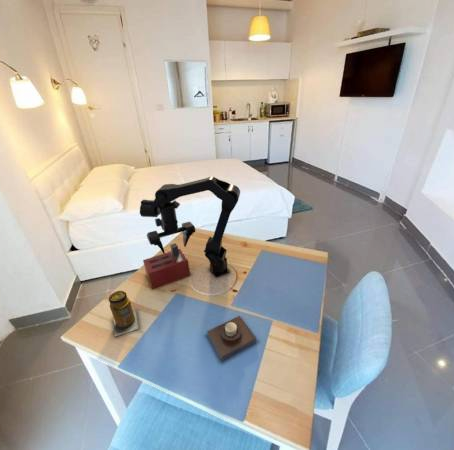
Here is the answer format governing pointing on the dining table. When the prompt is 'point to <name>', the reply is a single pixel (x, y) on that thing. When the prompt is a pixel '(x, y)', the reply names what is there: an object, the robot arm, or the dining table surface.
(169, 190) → the robot arm
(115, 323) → the condiment
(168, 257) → the toaster
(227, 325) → the button
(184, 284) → the dining table surface
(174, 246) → the toaster slider
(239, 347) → the control block
